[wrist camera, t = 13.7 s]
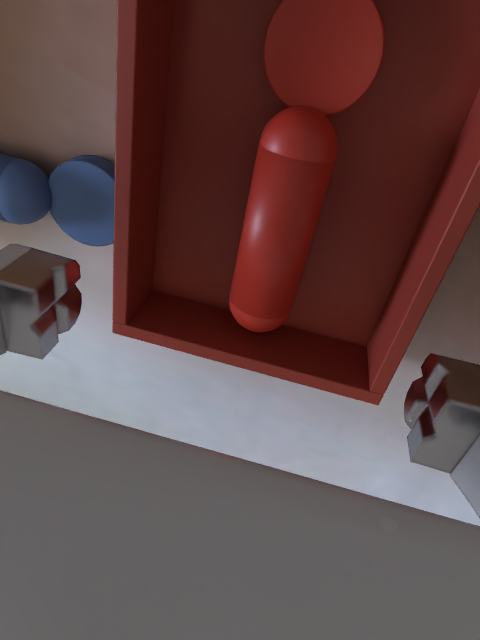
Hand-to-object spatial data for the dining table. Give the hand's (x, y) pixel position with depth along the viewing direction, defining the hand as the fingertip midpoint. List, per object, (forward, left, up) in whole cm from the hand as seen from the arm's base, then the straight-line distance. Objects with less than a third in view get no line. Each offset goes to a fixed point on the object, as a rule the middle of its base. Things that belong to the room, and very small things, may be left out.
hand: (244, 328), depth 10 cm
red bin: (-1, 0, -9) cm, 9 cm away
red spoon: (-1, 0, -8) cm, 9 cm away
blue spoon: (+2, -12, -9) cm, 15 cm away
